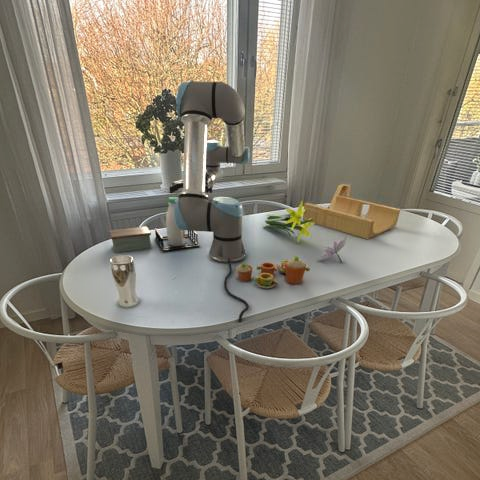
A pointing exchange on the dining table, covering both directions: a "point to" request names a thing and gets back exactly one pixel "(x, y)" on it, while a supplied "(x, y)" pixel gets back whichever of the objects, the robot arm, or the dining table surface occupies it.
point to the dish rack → (175, 248)
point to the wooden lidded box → (130, 239)
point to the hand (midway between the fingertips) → (183, 191)
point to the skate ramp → (352, 215)
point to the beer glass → (125, 279)
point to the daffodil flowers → (290, 221)
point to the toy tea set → (289, 267)
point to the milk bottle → (173, 226)
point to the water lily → (337, 247)
